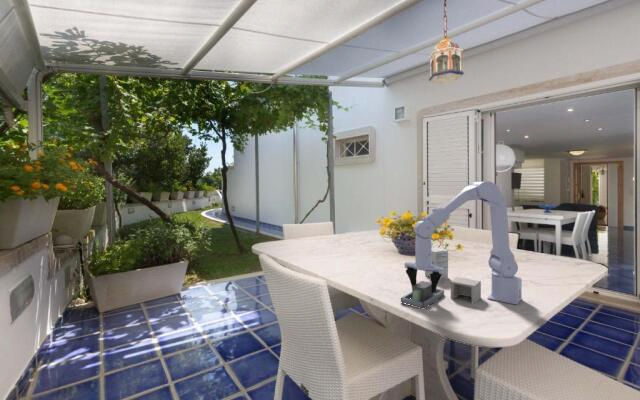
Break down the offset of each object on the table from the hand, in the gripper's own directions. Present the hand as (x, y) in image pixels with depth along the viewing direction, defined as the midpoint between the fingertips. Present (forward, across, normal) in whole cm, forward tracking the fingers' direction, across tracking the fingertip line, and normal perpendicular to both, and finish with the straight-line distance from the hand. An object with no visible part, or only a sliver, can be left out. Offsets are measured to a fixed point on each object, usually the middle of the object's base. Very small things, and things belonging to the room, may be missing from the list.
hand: (423, 289), depth 123 cm
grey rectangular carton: (+3, 0, -2) cm, 3 cm away
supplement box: (+4, -8, +30) cm, 31 cm away
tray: (+3, 0, 0) cm, 3 cm away
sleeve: (+3, +12, +10) cm, 16 cm away
